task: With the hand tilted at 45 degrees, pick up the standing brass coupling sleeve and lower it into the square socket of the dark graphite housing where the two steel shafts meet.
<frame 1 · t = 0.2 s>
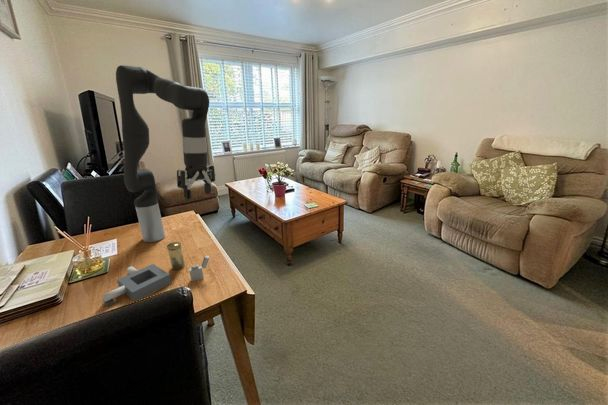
hand: (198, 196, 96), 28 cm above the table, tool pointing down, fingers open, 8 cm apart
shaft housing: (145, 285, 93), on the table
gold cylindrical piece: (178, 266, 104), on the table
lighter: (201, 278, 97), on the table
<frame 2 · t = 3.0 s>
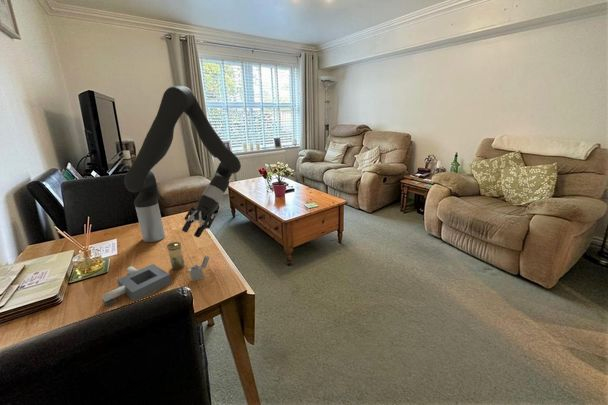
hand: (190, 234, 105), 11 cm above the table, tool tilted 45°, fingers open, 8 cm apart
nothing on the table moved.
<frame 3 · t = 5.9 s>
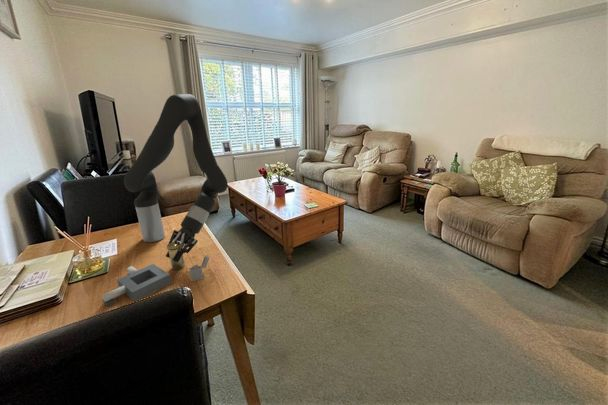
hand: (171, 259, 101), 4 cm above the table, tool tilted 45°, fingers closed on gold cylindrical piece, 4 cm apart
gold cylindrical piece: (178, 266, 104), on the table, touching gripper
everything else where it was.
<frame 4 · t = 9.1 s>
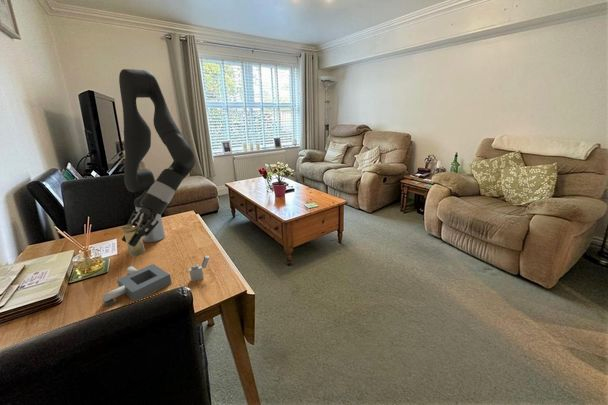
hand: (128, 243, 86), 17 cm above the table, tool tilted 45°, fingers closed on gold cylindrical piece, 4 cm apart
gold cylindrical piece: (137, 252, 89), point 13 cm above the table, touching gripper
everything else where it was.
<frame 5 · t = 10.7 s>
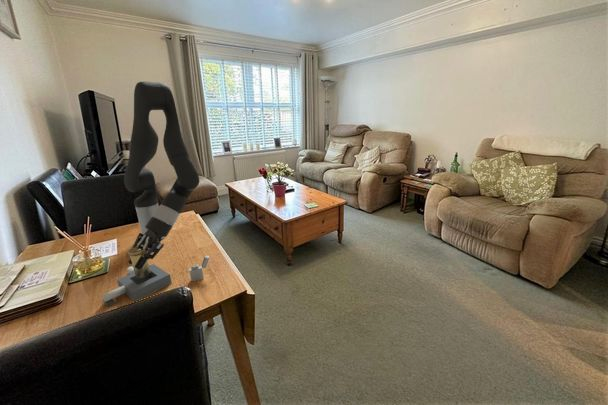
hand: (134, 266, 89), 9 cm above the table, tool tilted 45°, fingers closed on gold cylindrical piece, 4 cm apart
gold cylindrical piece: (143, 274, 91), point 4 cm above the table, touching gripper
everything else where it was.
when the fingers open (6 cm above the table, at t = 12.3 s): gold cylindrical piece drops 1 cm, resting in shaft housing.
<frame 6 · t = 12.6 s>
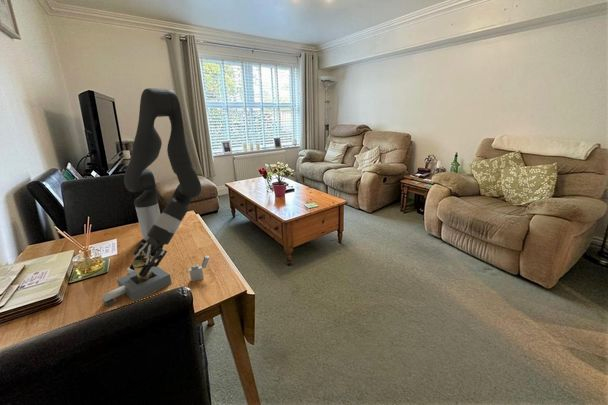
hand: (136, 272, 90), 6 cm above the table, tool tilted 45°, fingers open, 6 cm apart
gold cylindrical piece: (146, 285, 93), resting in shaft housing
everything else where it was.
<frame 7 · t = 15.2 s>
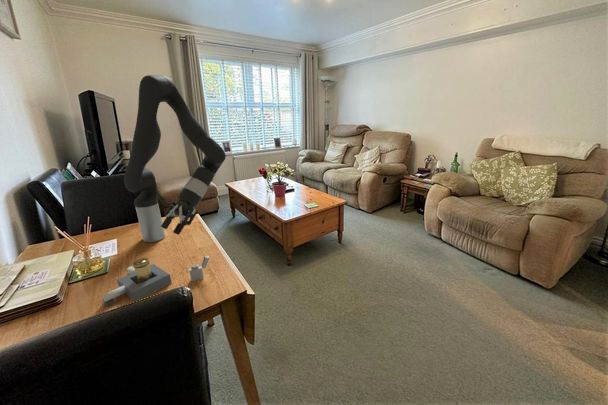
hand: (169, 230, 96), 16 cm above the table, tool tilted 45°, fingers open, 8 cm apart
nothing on the table moved.
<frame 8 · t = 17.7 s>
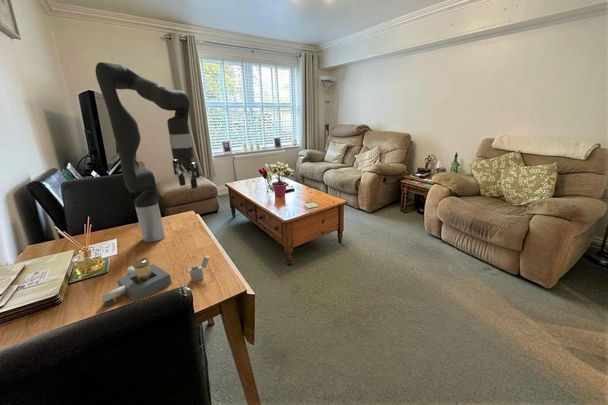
hand: (188, 186, 108), 28 cm above the table, tool pointing down, fingers open, 8 cm apart
nothing on the table moved.
at the end: gold cylindrical piece 0.4 cm off-centre on the shaft housing, point 0.0 cm above the shaft housing's base; gold cylindrical piece tilted 0°; the gripper is holding nothing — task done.
